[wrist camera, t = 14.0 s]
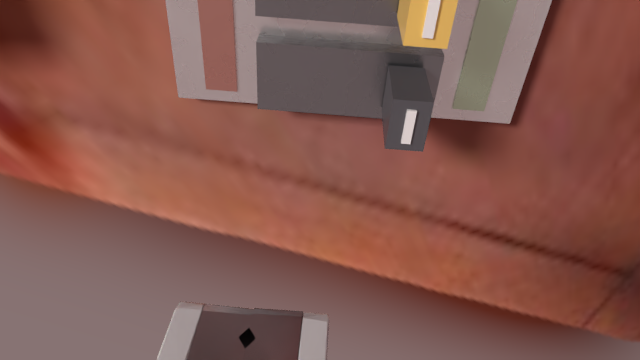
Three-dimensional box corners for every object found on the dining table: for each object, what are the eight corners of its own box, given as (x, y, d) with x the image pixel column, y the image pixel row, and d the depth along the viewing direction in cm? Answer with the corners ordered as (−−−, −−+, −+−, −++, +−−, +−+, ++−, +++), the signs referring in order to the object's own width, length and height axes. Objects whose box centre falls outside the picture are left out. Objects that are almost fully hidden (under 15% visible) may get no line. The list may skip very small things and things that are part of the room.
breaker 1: (406, -44, 29) (414, -20, 25) (447, -41, 29) (462, -17, 25) (396, 16, 31) (403, 47, 27) (435, 19, 31) (447, 50, 27)
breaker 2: (388, 65, 33) (393, 100, 29) (424, 68, 33) (434, 104, 29) (381, 110, 35) (384, 150, 31) (415, 113, 35) (423, 153, 31)
